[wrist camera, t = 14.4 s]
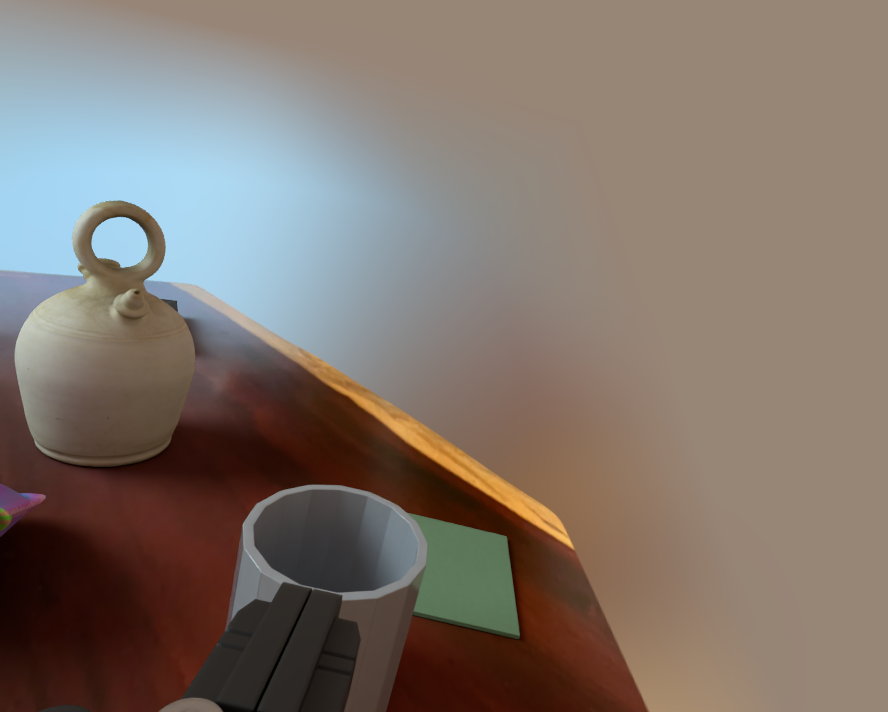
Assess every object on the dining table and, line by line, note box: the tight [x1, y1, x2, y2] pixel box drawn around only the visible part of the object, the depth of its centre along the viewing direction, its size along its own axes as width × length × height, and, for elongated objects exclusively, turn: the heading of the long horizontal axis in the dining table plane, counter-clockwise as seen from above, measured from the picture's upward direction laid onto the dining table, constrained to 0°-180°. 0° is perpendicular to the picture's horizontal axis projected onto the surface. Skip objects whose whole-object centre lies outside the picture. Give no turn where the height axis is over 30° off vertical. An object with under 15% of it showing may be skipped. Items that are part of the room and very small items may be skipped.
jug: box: [15, 201, 195, 467], centre depth 54 cm, size 15×16×25 cm
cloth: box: [407, 513, 520, 639], centre depth 50 cm, size 22×14×1 cm, turn 88°
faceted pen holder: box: [225, 485, 428, 712], centre depth 34 cm, size 11×11×12 cm
